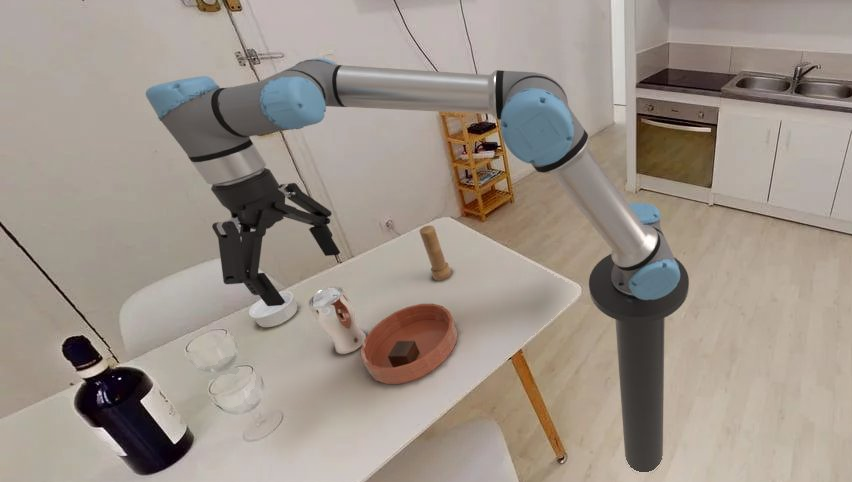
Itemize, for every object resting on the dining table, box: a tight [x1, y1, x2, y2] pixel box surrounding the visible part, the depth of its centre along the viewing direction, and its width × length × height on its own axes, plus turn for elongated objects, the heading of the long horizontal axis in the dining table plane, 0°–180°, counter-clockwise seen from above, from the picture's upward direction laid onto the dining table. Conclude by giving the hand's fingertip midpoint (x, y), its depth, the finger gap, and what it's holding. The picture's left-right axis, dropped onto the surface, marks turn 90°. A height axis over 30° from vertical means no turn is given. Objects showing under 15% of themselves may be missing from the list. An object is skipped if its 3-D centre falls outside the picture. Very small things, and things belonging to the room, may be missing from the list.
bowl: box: [360, 303, 458, 385], centre depth 93 cm, size 18×18×5 cm
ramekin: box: [248, 290, 298, 328], centre depth 103 cm, size 9×9×4 cm
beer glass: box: [307, 285, 367, 355], centre depth 92 cm, size 7×7×15 cm
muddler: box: [418, 225, 452, 282], centre depth 112 cm, size 5×5×16 cm
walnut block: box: [388, 341, 420, 367], centre depth 90 cm, size 4×4×4 cm
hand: (307, 277), depth 75 cm, fingers open, 13 cm apart
